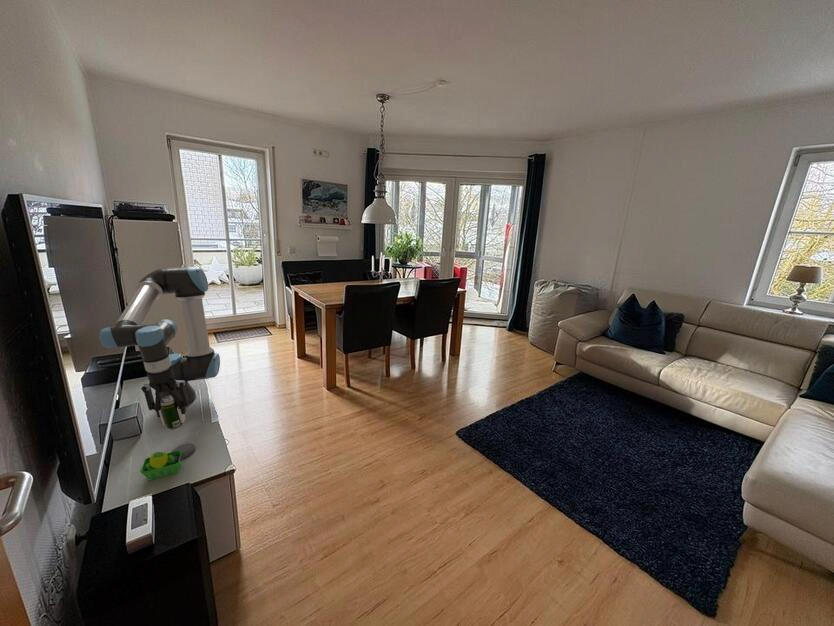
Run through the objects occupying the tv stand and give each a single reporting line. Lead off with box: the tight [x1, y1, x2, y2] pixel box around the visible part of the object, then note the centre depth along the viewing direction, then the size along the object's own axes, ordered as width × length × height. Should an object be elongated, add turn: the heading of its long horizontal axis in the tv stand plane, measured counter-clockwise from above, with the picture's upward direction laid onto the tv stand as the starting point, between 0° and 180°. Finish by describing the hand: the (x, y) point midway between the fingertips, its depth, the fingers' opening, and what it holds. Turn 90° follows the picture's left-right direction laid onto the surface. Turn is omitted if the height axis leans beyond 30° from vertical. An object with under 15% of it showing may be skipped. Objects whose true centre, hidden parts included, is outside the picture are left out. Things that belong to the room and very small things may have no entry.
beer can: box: [160, 395, 184, 430], centre depth 131 cm, size 5×5×12 cm
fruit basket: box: [139, 450, 181, 481], centre depth 126 cm, size 11×9×11 cm
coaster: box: [171, 442, 196, 461], centre depth 137 cm, size 8×8×1 cm
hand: (174, 421), depth 132 cm, fingers closed on beer can, 5 cm apart
